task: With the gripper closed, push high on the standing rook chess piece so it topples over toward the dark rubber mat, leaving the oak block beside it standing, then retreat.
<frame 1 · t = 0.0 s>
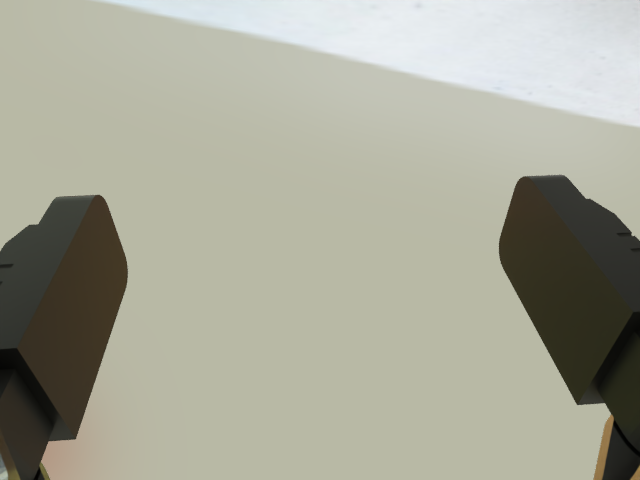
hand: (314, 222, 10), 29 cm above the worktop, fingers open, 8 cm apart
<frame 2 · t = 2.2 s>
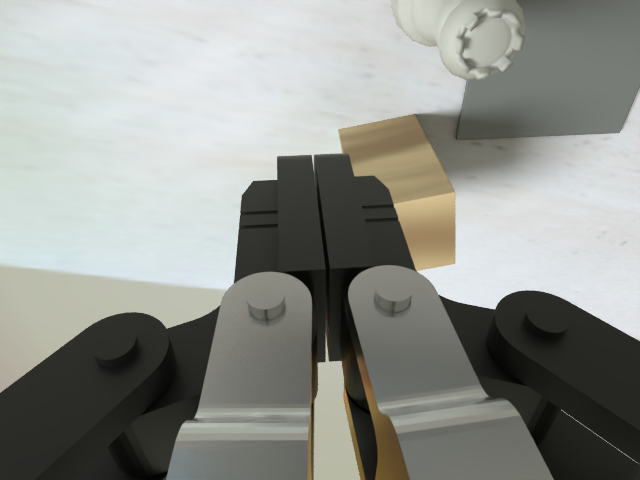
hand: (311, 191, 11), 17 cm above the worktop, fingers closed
oak block: (380, 155, 29), on the worktop
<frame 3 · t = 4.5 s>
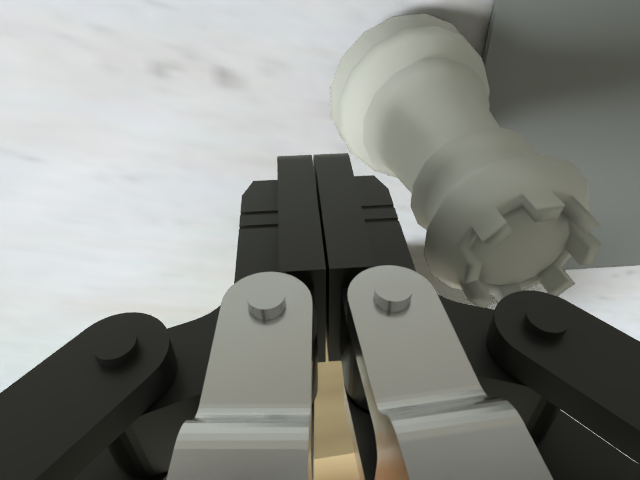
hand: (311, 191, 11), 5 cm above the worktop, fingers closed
rook chess piece: (396, 85, 15), on the worktop, touching gripper
oak block: (332, 294, 20), on the worktop
mat: (636, 75, 15), on the worktop
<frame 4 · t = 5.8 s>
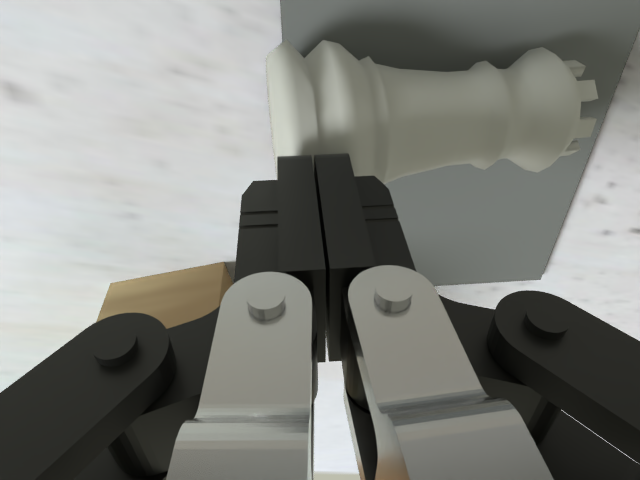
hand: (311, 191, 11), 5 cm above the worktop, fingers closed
rook chess piece: (266, 135, 12), point 3 cm above the worktop, touching mat
oak block: (187, 311, 20), on the worktop
mat: (450, 92, 15), on the worktop
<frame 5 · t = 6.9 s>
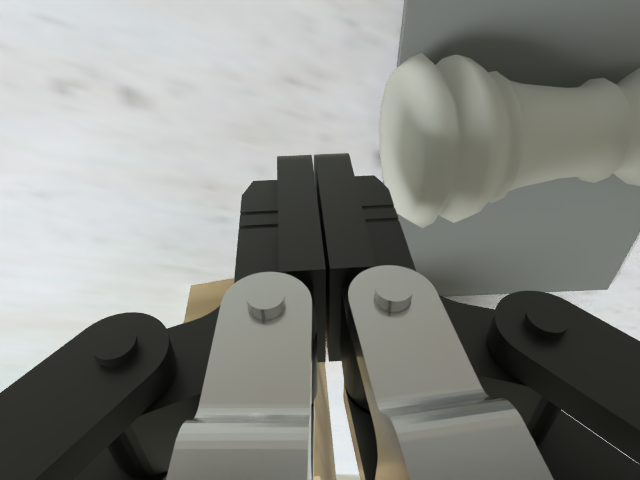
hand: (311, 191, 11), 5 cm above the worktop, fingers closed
rook chess piece: (390, 145, 13), point 3 cm above the worktop, touching mat
oak block: (261, 314, 20), on the worktop
mat: (550, 106, 15), on the worktop
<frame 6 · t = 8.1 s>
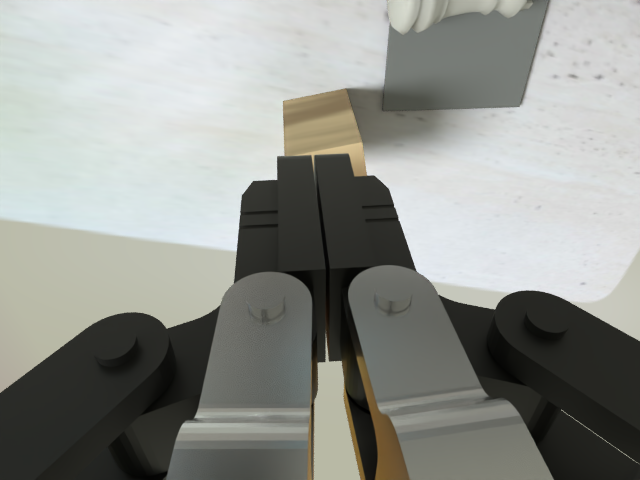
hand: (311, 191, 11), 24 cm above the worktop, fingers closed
oak block: (319, 124, 35), on the worktop
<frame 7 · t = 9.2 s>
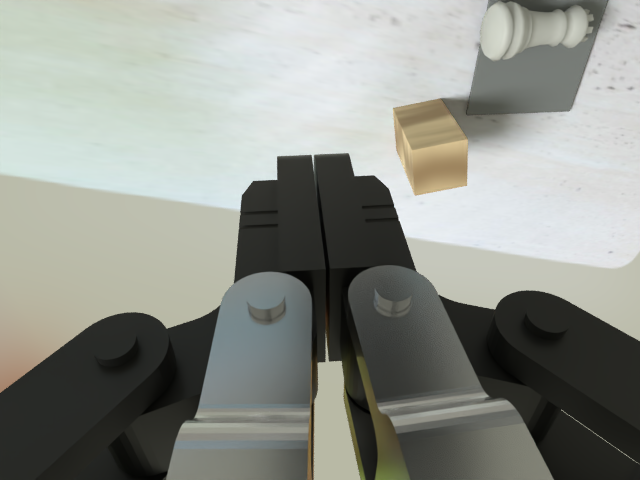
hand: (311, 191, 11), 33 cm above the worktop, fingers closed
rook chess piece: (488, 32, 39), point 3 cm above the worktop, touching mat
oak block: (417, 125, 46), on the worktop
mat: (541, 23, 41), on the worktop
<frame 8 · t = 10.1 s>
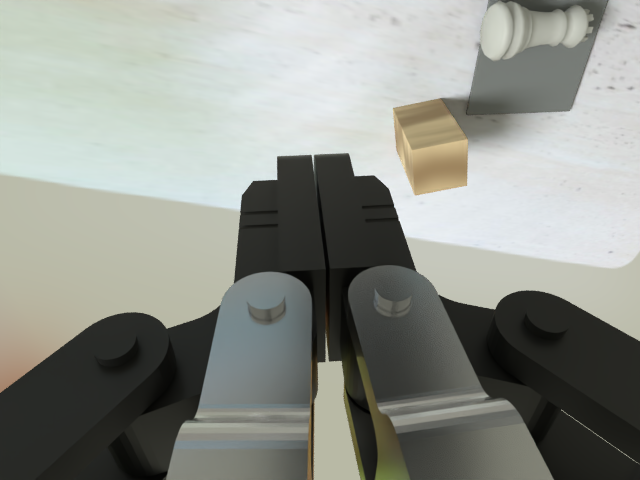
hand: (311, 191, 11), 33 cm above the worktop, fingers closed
rook chess piece: (488, 32, 39), point 3 cm above the worktop, touching mat
oak block: (418, 125, 46), on the worktop
mat: (541, 23, 41), on the worktop
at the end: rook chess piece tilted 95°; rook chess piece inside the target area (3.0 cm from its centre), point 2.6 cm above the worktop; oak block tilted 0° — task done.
